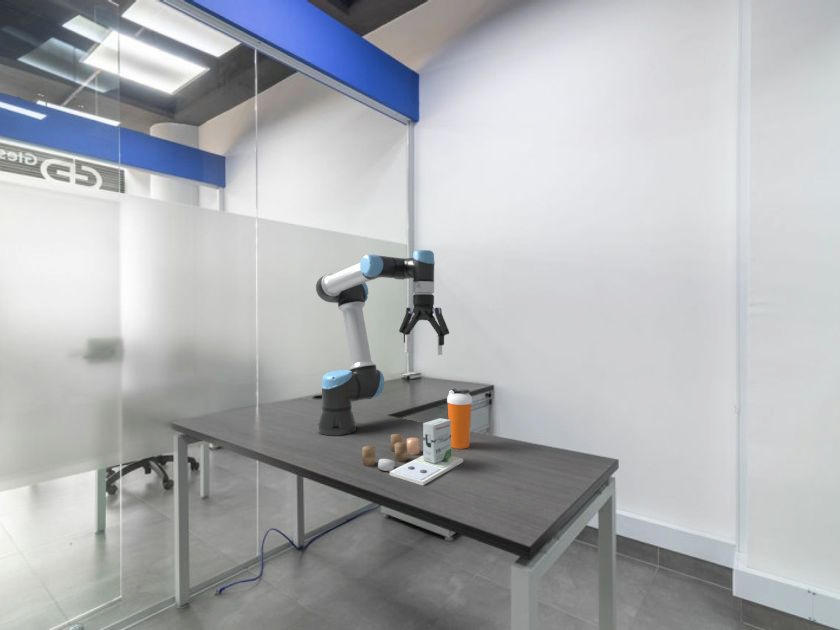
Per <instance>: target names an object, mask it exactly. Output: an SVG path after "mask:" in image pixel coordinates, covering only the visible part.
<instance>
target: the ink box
mask: <svg viewBox="0 0 840 630" xmlns="http://www.w3.org/2000/svg"><path fill="white" fill-rule="evenodd" d="M422 430H423V431H422V432H423V433H422V435H423V436H422V440H423V441H422V442H423V443H422V445H423V446H422V447H423V449H422V451H423V453H422V456H423V460H425V461H428V462H431V463H434V464H435V463H437V462H440V461H442V460H444V459H446V458H449V457H451V456H452V447H451V421H450V420H448V418H435V419H432V420H429V421H426V422H423V423H422Z"/></svg>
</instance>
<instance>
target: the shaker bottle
mask: <svg viewBox="0 0 840 630" xmlns="http://www.w3.org/2000/svg"><path fill="white" fill-rule="evenodd" d="M470 392H471V389H465V388H464V389H461V388H460V389H457V388H452V389H449V392H448V395H447V398H446V402H447V411H448V412H447V415H448V418H447V419H448V420H450V421H451V449H457V450H462V449H464V450H465V449H467V448H469V447H470V438H471V421H472V420H471V419H472V417H471V416H472V404H473V396H472V395H471V394H470Z"/></svg>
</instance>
